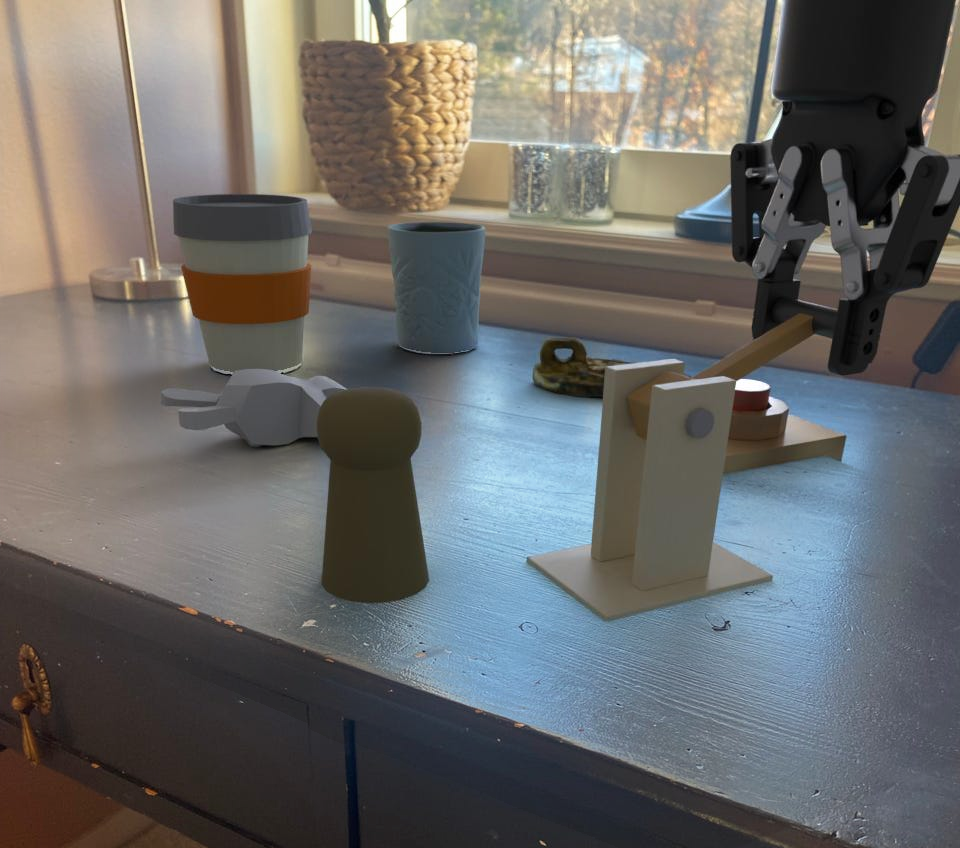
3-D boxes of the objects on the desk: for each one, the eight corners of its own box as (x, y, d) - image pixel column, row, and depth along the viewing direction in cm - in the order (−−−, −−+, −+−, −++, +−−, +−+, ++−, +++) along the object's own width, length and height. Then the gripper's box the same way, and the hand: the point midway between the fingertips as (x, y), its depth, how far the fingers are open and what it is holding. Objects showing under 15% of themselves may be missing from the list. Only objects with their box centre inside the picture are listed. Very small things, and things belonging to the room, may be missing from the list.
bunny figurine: (386, 391, 74) (185, 390, 66) (380, 456, 76) (186, 462, 69) (340, 363, 81) (154, 359, 74) (336, 424, 83) (156, 426, 76)
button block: (751, 427, 81) (758, 379, 79) (841, 463, 73) (852, 411, 71) (632, 446, 76) (637, 395, 74) (716, 487, 68) (723, 431, 66)
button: (744, 399, 75) (748, 376, 74) (777, 411, 72) (781, 388, 71) (707, 404, 73) (710, 381, 72) (739, 417, 71) (743, 393, 70)
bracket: (680, 542, 60) (705, 346, 54) (770, 595, 53) (809, 380, 48) (525, 575, 55) (534, 366, 49) (604, 637, 49) (625, 406, 43)
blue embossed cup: (415, 360, 99) (413, 233, 93) (375, 340, 107) (370, 222, 101) (501, 350, 104) (504, 229, 98) (456, 332, 111) (456, 218, 105)
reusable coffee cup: (342, 370, 95) (333, 203, 88) (219, 388, 89) (198, 209, 81) (288, 345, 104) (276, 192, 97) (172, 359, 98) (150, 196, 90)
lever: (794, 324, 54) (789, 283, 53) (862, 343, 50) (859, 299, 49) (620, 428, 52) (610, 388, 50) (678, 456, 48) (669, 414, 46)
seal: (688, 390, 94) (536, 380, 96) (695, 340, 93) (539, 330, 94) (694, 405, 86) (526, 394, 88) (701, 350, 84) (529, 340, 86)
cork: (330, 568, 56) (317, 375, 50) (435, 570, 55) (434, 377, 50) (310, 617, 50) (294, 408, 45) (427, 621, 50) (424, 411, 45)
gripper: (1070, -27, 40) (966, 384, 48) (816, -3, 51) (768, 328, 60) (944, -37, 37) (857, 403, 45) (704, -9, 48) (669, 341, 56)
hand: (807, 359), depth 52 cm, fingers closed on lever, 5 cm apart
